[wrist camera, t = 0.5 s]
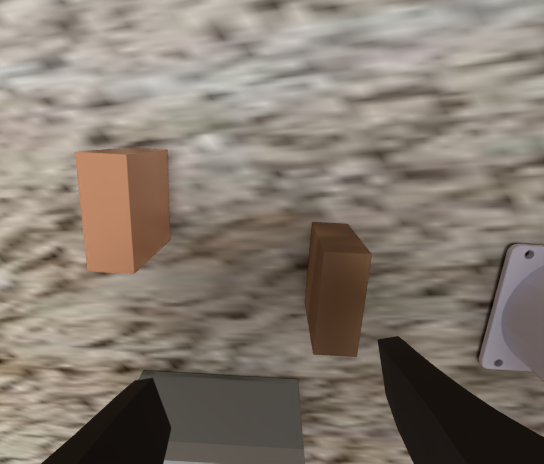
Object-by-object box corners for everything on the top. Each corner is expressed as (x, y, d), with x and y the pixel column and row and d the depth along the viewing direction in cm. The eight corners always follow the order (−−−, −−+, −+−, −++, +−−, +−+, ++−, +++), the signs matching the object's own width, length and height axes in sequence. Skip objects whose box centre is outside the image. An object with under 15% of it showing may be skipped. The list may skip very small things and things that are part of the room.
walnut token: (347, 223, 19) (371, 254, 14) (337, 303, 20) (356, 356, 15) (312, 221, 19) (323, 251, 14) (304, 302, 20) (313, 354, 15)
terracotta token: (167, 149, 18) (126, 154, 13) (170, 239, 19) (134, 273, 14) (130, 147, 18) (74, 151, 13) (135, 237, 19) (87, 271, 14)
